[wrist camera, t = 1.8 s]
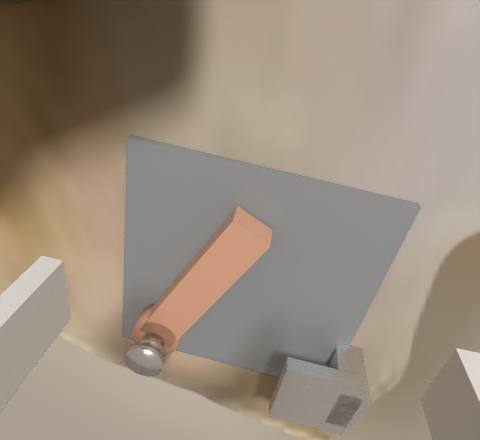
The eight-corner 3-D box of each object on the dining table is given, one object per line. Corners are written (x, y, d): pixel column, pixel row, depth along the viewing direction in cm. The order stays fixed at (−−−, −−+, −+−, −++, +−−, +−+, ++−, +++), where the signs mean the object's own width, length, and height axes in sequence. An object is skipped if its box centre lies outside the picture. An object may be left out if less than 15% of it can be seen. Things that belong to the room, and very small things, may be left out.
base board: (124, 332, 46) (122, 336, 45) (130, 135, 32) (127, 137, 32) (326, 384, 45) (326, 389, 44) (418, 203, 31) (420, 207, 31)
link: (171, 342, 44) (163, 361, 42) (134, 320, 43) (124, 338, 41) (277, 233, 34) (275, 250, 32) (232, 201, 33) (226, 216, 31)
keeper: (273, 365, 45) (268, 415, 39) (289, 320, 40) (287, 369, 35) (342, 383, 44) (348, 437, 39) (366, 339, 40) (376, 392, 34)
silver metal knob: (134, 349, 41) (124, 370, 38) (136, 324, 38) (125, 345, 36) (169, 358, 40) (160, 380, 38) (172, 334, 38) (163, 355, 36)
